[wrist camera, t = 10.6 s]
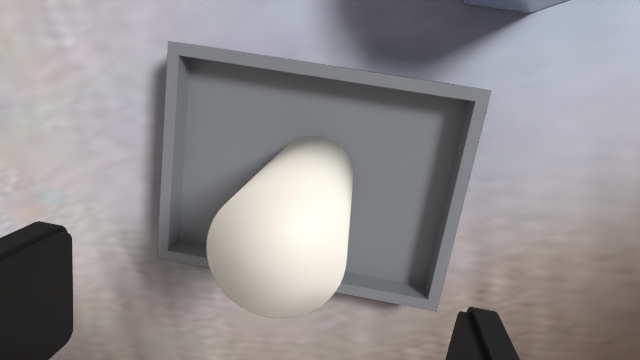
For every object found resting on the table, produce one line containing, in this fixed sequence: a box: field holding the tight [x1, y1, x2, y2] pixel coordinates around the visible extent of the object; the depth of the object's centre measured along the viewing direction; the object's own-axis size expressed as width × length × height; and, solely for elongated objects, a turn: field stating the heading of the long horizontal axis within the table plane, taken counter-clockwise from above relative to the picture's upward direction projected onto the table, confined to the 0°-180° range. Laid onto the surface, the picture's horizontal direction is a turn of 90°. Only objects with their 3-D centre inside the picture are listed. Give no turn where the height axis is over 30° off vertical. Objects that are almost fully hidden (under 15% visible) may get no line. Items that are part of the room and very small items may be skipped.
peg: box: [206, 136, 353, 318], centre depth 19 cm, size 4×4×11 cm
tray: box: [157, 41, 491, 311], centre depth 24 cm, size 16×12×2 cm
